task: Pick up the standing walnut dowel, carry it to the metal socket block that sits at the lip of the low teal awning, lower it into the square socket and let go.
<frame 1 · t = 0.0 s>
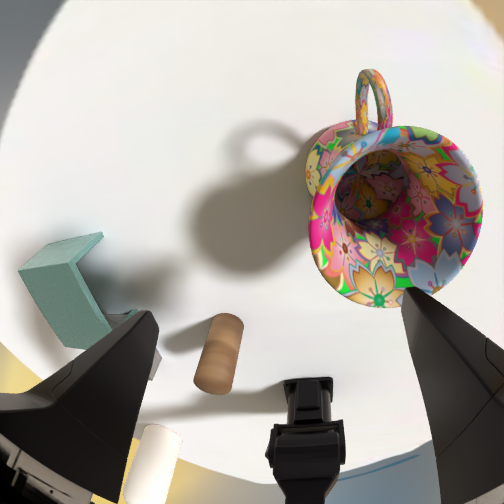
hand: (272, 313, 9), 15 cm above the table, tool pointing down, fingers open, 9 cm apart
alcohol: (164, 431, 51), on the table
station: (105, 302, 31), on the table
mug: (354, 154, 20), on the table
peg: (227, 325, 30), on the table
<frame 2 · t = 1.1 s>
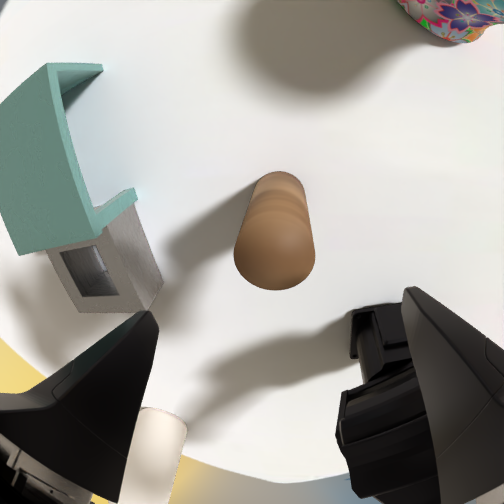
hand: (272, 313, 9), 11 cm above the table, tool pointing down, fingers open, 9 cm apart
alcohol: (164, 418, 40), on the table
station: (87, 185, 20), on the table
peg: (279, 196, 19), on the table
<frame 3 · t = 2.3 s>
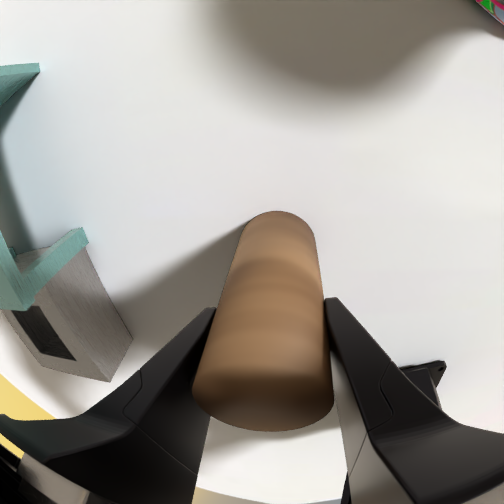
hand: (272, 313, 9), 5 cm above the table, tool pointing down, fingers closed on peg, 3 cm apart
station: (33, 221, 14), on the table
peg: (277, 246, 13), on the table, touching gripper
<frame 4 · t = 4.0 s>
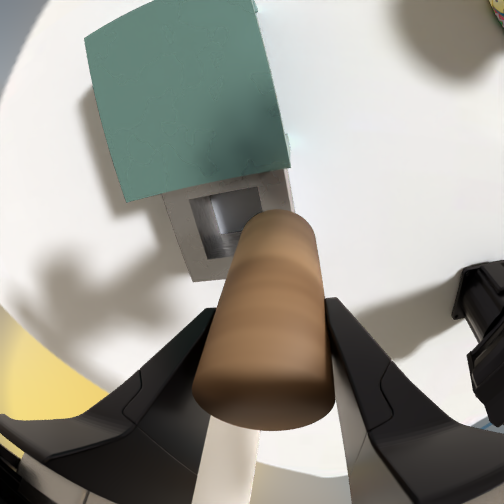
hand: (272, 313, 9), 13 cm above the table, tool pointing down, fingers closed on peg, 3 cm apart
alcohol: (234, 413, 39), on the table
station: (221, 128, 19), on the table
peg: (277, 244, 13), point 9 cm above the table, touching gripper
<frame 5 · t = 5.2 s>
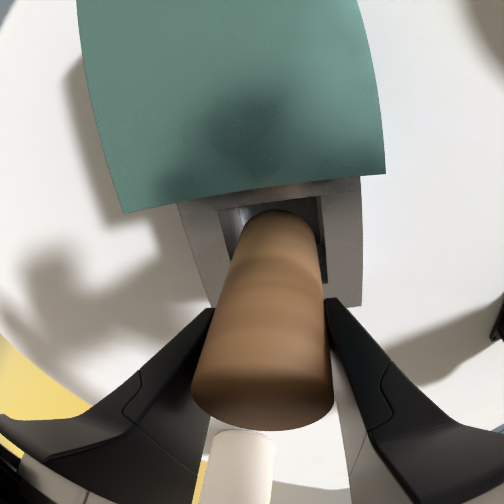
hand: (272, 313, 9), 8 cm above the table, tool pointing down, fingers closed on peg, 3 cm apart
alcohol: (244, 438, 33), on the table
station: (259, 111, 13), on the table
peg: (277, 245, 13), point 4 cm above the table, touching gripper
when the fingers open (6 cm above the table, at t = 5.8 s): peg drops 2 cm, resting in station.
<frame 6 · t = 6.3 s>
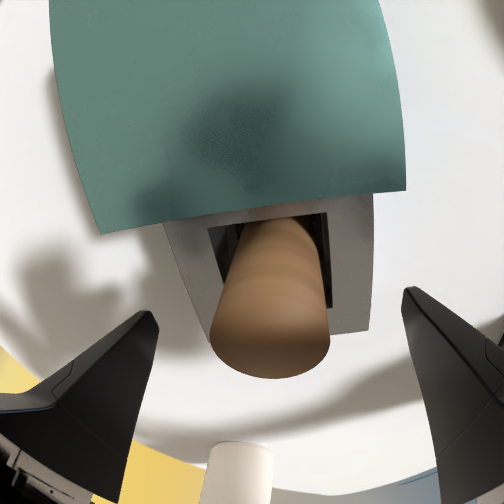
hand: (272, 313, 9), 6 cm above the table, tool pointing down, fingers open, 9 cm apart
alcohol: (243, 449, 32), on the table
station: (256, 113, 12), on the table
peg: (279, 226, 15), resting in station
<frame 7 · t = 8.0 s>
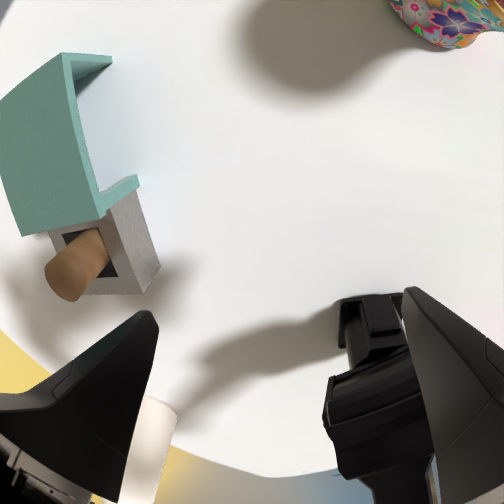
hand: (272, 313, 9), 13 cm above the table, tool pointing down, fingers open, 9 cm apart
alcohol: (154, 406, 41), on the table
station: (91, 171, 21), on the table
peg: (112, 231, 24), resting in station
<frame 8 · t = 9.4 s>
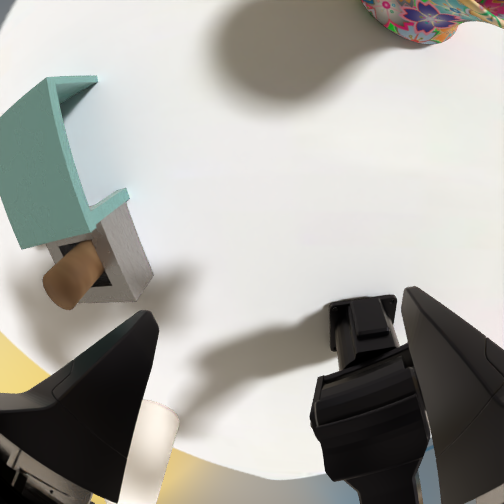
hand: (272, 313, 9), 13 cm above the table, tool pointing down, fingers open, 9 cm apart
alcohol: (157, 410, 42), on the table
station: (84, 186, 22), on the table
peg: (106, 242, 25), resting in station
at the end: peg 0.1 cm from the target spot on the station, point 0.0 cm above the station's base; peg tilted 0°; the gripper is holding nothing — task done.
